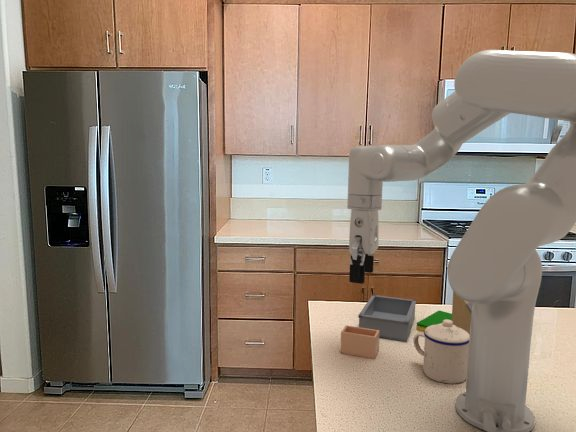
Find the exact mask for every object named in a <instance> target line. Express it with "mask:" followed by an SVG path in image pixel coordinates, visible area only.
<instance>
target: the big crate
mask: <svg viewBox="0 0 576 432" xmlns="http://www.w3.org/2000/svg"><path fill="white" fill-rule="evenodd" d="M416 304H417V300H416V299H408V298H400V297H391V296H385V295H378V294H377V295H376V294H372V295H371V296H370V298H369V299H368V301H367V302H366V304H365V305H364V306H363V308H362V309H361V311H360V312H359V313H358V316H357V318H358V327H360V328H367V329H374V330H380V331H379V339H386V340H391V341H399V342H405V343H408V340H409V337H410V333H411V330H412V327H413V325H414V321H415V317H416Z"/></svg>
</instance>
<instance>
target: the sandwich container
mask: <svg viewBox="0 0 576 432" xmlns="http://www.w3.org/2000/svg"><path fill="white" fill-rule="evenodd" d="M451 305H452V309H451V314H452V322H453V325H455V326H457V327H459V328H461V329H463V330H465V331H466V332H468V334H469V335H470V324H471V313H472V307H473V303H469V302H467V301H465V300H463V299H461V298H460V297H458V296H457V295H456V294H455V293H454V291H453V290H452V304H451Z"/></svg>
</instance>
